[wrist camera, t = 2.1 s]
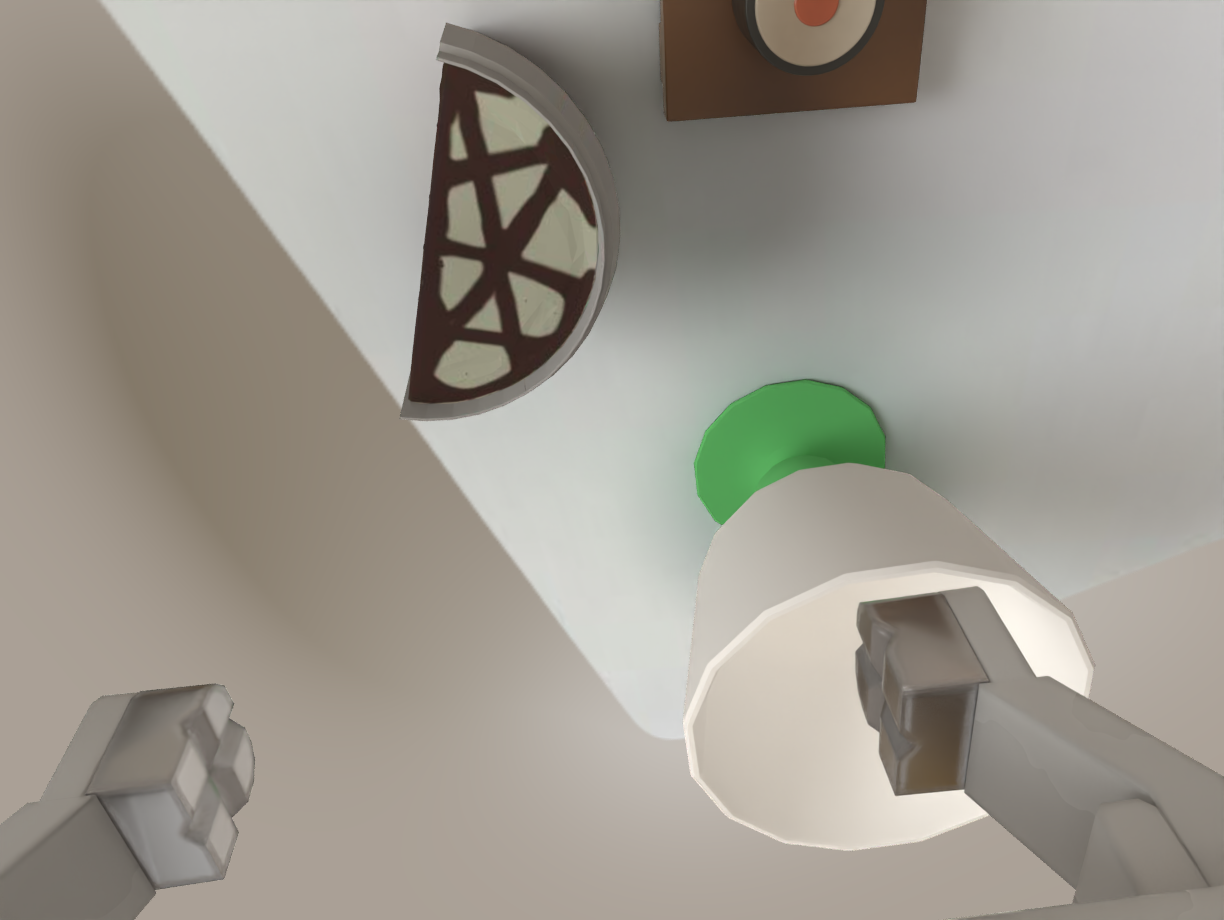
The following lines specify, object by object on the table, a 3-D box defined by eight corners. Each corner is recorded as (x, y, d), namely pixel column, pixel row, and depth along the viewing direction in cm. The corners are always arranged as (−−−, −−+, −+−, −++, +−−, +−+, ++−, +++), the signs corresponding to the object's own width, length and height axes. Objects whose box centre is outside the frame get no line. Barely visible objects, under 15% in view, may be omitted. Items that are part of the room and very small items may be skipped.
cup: (954, 529, 48) (1109, 795, 34) (692, 607, 50) (743, 888, 36) (908, 287, 40) (1081, 507, 27) (602, 390, 42) (626, 642, 29)
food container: (576, 331, 41) (582, 460, 32) (430, 307, 40) (397, 433, 31) (639, 22, 34) (667, 83, 26) (467, -15, 33) (438, 35, 25)
